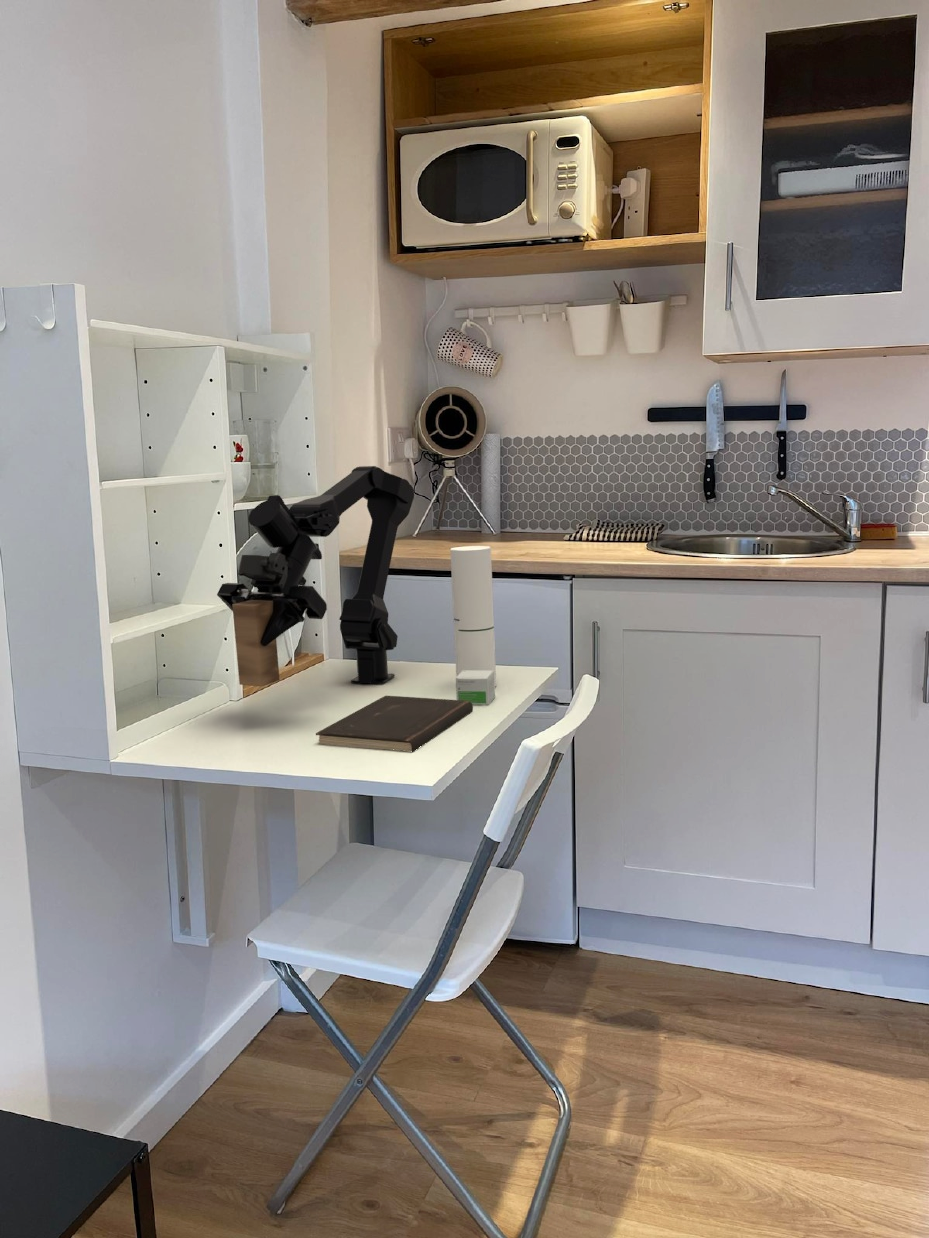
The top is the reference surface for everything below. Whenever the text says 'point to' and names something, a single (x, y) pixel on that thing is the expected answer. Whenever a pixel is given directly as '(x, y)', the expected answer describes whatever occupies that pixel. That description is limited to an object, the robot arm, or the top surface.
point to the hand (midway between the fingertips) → (250, 643)
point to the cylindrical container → (473, 608)
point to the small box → (475, 686)
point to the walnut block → (254, 643)
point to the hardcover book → (396, 723)
